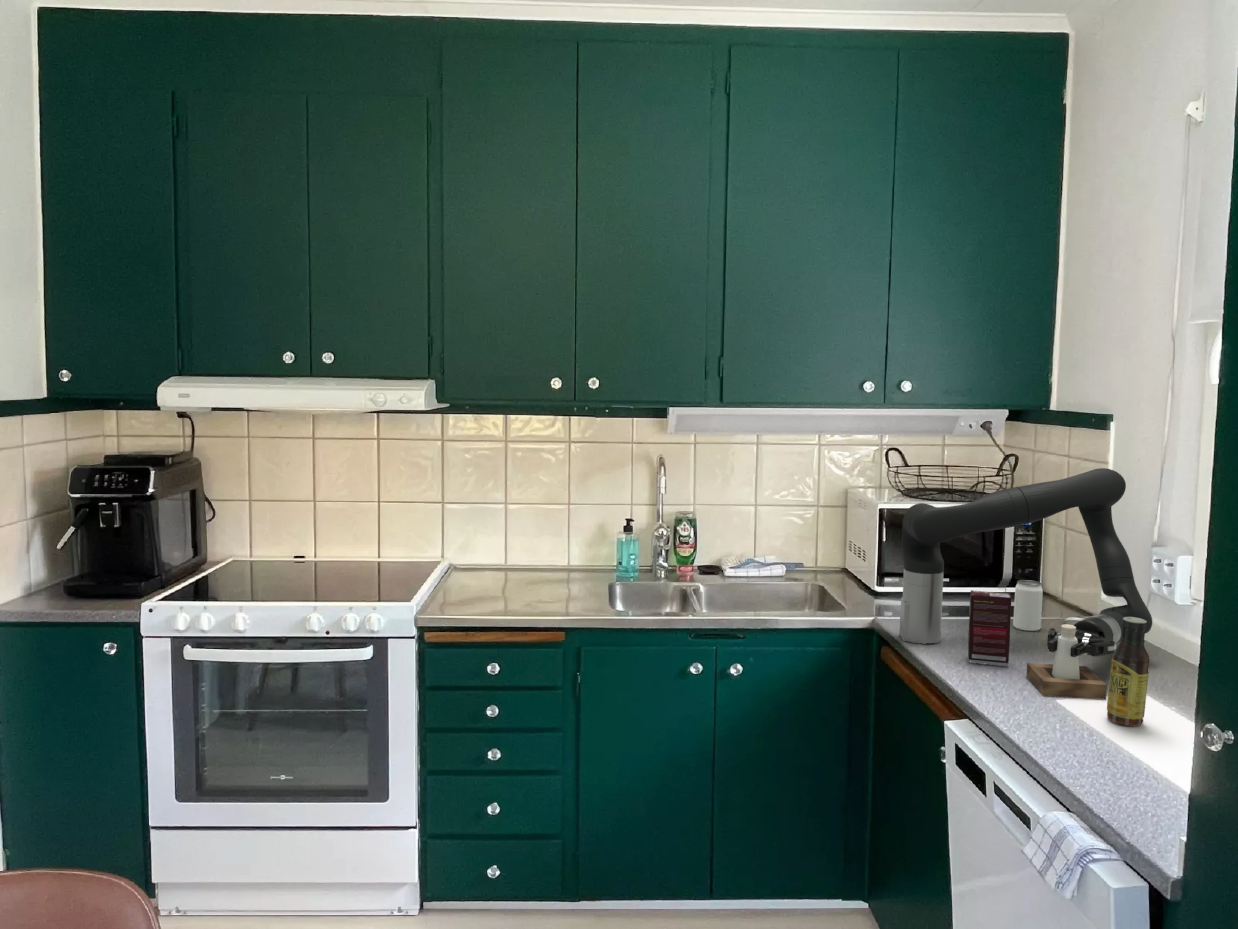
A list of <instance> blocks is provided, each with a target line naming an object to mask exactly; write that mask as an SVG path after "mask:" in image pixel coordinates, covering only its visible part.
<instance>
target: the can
mask: <svg viewBox="0 0 1238 929" xmlns="http://www.w3.org/2000/svg"><path fill="white" fill-rule="evenodd" d="M1043 591H1044V590H1043V587H1042V583H1041V582H1040V581H1036V580H1029V579H1028V580H1027V579H1021V580H1020V579H1019V580H1017V583H1016V585H1015V590H1014V602H1013V603H1014V605H1013V621H1012V622H1013V623H1012V624H1013V627H1014V628H1015V629H1016V630H1019V631H1025V632H1037V631H1040V629H1041V627H1042V612H1043V611H1042V610H1043Z"/></svg>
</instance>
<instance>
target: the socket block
mask: <svg viewBox="0 0 1238 929" xmlns="http://www.w3.org/2000/svg"><path fill="white" fill-rule="evenodd" d="M1053 664H1054V663H1051V664H1049V663H1035V662H1033V663H1032V662H1031V663H1030V662H1026V675H1025V677H1026V678H1027V679H1028V681H1030V682H1031V684H1032V685H1033V686H1034V687H1035V689H1036V690H1038V692H1039V693H1040V694H1041V695H1042V696H1044V697H1045V696H1047V697H1048V696H1049V697H1059V698H1060V697H1064V698H1079V699H1093V700H1096V699H1097V700H1107V691H1108V685H1107V683H1105V681H1103V680H1102V679H1101V678H1100V677H1099V676H1098V675H1097V674H1095V673H1094V671H1092V670H1091V669H1090V668H1089V667H1087V665H1084V666H1083V665H1079V674H1080V679H1063V678H1054V677H1053V675H1052V670H1053Z"/></svg>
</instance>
